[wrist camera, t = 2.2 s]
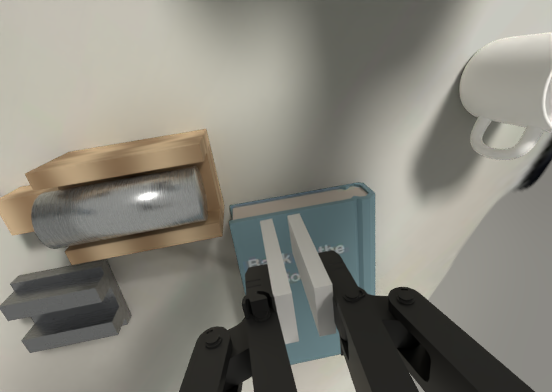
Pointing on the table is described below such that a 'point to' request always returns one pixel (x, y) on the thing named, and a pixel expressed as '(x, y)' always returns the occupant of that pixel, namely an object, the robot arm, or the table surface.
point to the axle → (119, 207)
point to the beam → (115, 166)
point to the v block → (68, 305)
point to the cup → (510, 91)
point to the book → (325, 236)
